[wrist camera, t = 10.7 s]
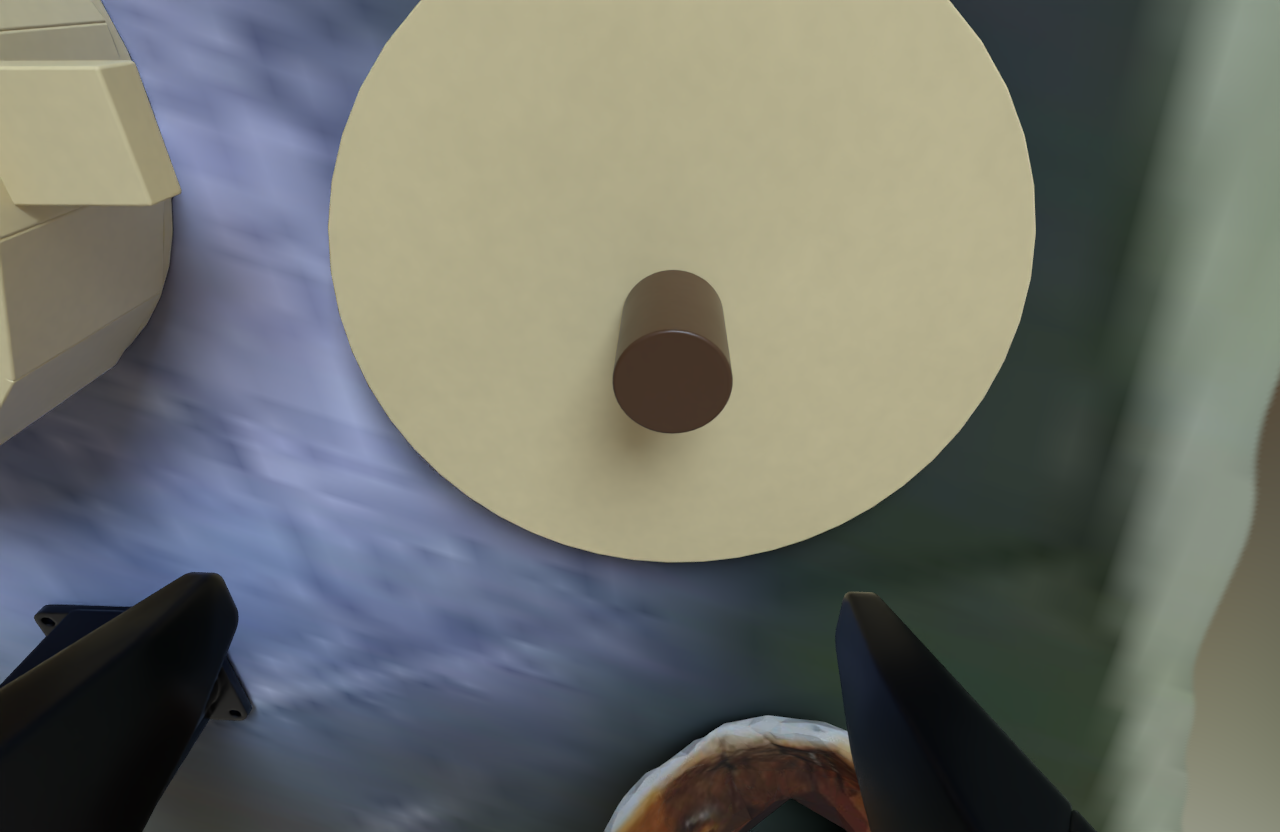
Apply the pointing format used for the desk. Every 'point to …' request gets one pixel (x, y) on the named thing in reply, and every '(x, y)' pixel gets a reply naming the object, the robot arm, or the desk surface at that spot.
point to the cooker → (74, 204)
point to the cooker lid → (681, 258)
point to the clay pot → (747, 780)
